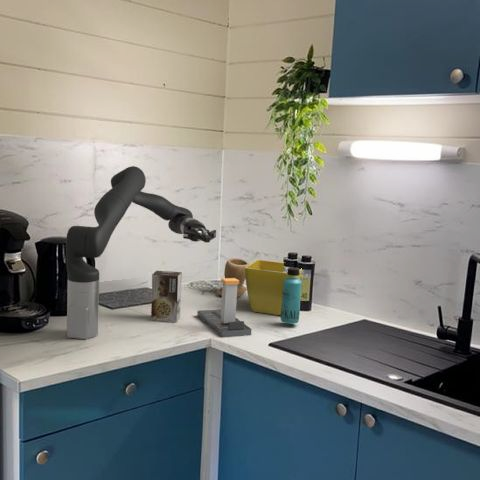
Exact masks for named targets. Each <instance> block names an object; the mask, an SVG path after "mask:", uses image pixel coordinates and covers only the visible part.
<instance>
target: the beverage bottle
mask: <svg viewBox="0 0 480 480" xmlns="http://www.w3.org/2000/svg"><path fill="white" fill-rule="evenodd" d="M299 272H300V270H299V269H298V268H288V272H287V274H288V275H292V276H298V275H300V273H299ZM302 284H303V280H302V281H301V280H300V279H299V278H296V277H287V278H286V279H285V280H284V285H283V293H282V309H281V315H280V321H281V322H282V323H283V324H284V323H285V324H291V325H292V324H298V323H299V321H300V311H301V298H302V297H301V295H302V287H303V286H302Z"/></svg>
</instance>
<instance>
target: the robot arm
mask: <svg viewBox="0 0 480 480" xmlns="http://www.w3.org/2000/svg"><path fill="white" fill-rule="evenodd" d="M146 180H147V179H146V175H145V173H144V171H143V170H142V169H141V168H140V167H138V166H134V165H132V166H128V167H125V168H124V169H123V170H121V171H119V172H117V173H116V174H114V175H113V176H112V177H111V179H110V185H111V189H109V190H108V191H106V192H105V194H104V195H102V196H101V198H100V199H99V201H98V202H97V203H96V204H95V206H94V210H93V211H94V212H93V214H94V218H95V220H96V222H97V224H98V225H97V226H85V225H83V226H82V225H73V226H72V225H71V227H69V229H68V230H67V232H66V238H65V239H66V240H65V252H66V254H65V256H66V272H67V292H66V293H67V298H66V299H67V300H66V301H67V304H66V305H67V306H66V312H67V313H66V338H69V339H78V340H79V339H80V340H89V339H90V338H95V337H97V336H98V335H99V305H100V303H99V301H100V297H99V295H100V270H99V269H97V268H96V267H94V266H92V265H90V264H89V263H87V262H86V261H85V260H84V258H89V259H96V258H99V257H101V255H103V253H104V252H105V250H106V248H107V246H108V243H109V241H110V239H111V237H112V235H113V233H114V231H115V229H116V228H117V226H118V225H119V223H120V222H121V221H122V220H123V217H124V216H125V215H126V212H127V210H128V209H129V207H130V206H131V204H132V203H133V204H136V205H138V206H140V207H142V208H144V209H147V210H149V211H150V212H153V214H155V215H157V216H158V217H159V218H161V219H162V220H163V221H167V222H168V223H167V224H168V225H167V226H168V228H169V230H171V232H173V233H175V234H178V235H183V236H182V238H183V239H185V240H189V241H191V242H203V243H210V242H211V240H214V239H215V238H216V237H217V230H216V229H213V230H209V229H207V227H206V226H205V224H204V223H203V222H201V221H199V220H198V219H196V218H193V217H194V215H193V212H192V211H191V210H190V209H188V208H186V207H182V206H178V205H175V204H174V203H172V202H171V201H170V200H169V199H167V198H166V197H164V196H161V195H159V194H154V193H148V192H145V191H142V190H143V189H144V188H145V187H146V182H147V181H146Z"/></svg>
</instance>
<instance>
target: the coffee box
mask: <svg viewBox="0 0 480 480" xmlns="http://www.w3.org/2000/svg"><path fill="white" fill-rule="evenodd" d="M182 274H183V273H182V272H181V271H170V270H169V271H168V270H156V271H154V272H153V273H152V274H151V305H150V306H151V308H150V309H151V313H150V314H151V315H150V321H152V322H154V321H155V322H169V323H178V321H179V320H180V319H181V301H182V299H181V298H182V276H183V275H182Z"/></svg>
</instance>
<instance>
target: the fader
mask: <svg viewBox="0 0 480 480" xmlns="http://www.w3.org/2000/svg"><path fill="white" fill-rule="evenodd" d="M220 282H221V283H222V287H221V288H222V296H221V303H220V304H221V305H220V306H221V321H222V322H223V323H229V322H235V318H237V317H236V315H237V301H238V297H237V285H238V284H239V280H237V279H236V278H225V277H223V278H221V281H220Z"/></svg>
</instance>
